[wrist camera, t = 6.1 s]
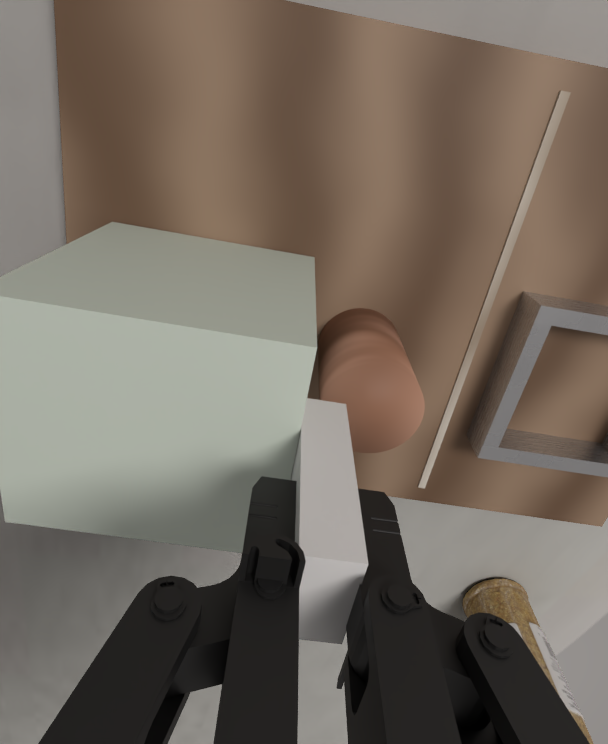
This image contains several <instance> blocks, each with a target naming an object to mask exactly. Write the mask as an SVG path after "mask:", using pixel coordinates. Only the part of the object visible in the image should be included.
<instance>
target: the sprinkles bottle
mask: <svg viewBox="0 0 608 744" xmlns="http://www.w3.org/2000/svg"><path fill="white" fill-rule="evenodd" d="M463 609H464V612H465V614H466V616H467V617H469V616H470V615H473V614H475V613H478V612H480V613H490V614H492V615H495V616H497V617H500V618H502V619H503V620H504V621H506V622H507V623H508V624H510V625H511V626H512V627H513V628H514V629H515V630H516V631H517V632H518V634H519V635H520V636H521V637H522V639H523V640H524V642H525V643H526V645H527V647H528V648H529V650H530V651H531V653H532V654H533V656H534V657H535V659H536V661H537V662H538V664H539V665H540V667H541V668H542V670H543V671H544V673H545V675H546V676H547V678H548V679H549V681H550V682H551V684H552V685H553V687H554V689H555V690H556V692H557V693H558V695H559V696H560V698H561V699H562V701H563V703H564V704H565V706H566V707H567V709H568V710H569V712H570V713H571V715H572V717H573V718H574V720H575V721H576V723H577V724H578V726H579V727H580V729H581V731H582V732H583V734H584V735H585V737H586V738H587V740H588V741H589V743H590V744H593V741H592V739H591V736H590V734H589V732H588V730H587V728H586V725H585V721H584V719H583V716H582V714H581V712H580V710H579V708H578V705H577V703H576V701H575V699H574V697H573V694H572V692H571V690H570V688H569V686H568V684H567V681H566V679H565V677H564V675H563V672H562V670H561V668H560V666H559V664H558V662H557V659H556V657H555V655H554V653H553V651H552V649H551V647H550V644H549V642H548V640H547V638H546V636H545V634H544V632H543V630H542V629H541V628H540V626H539V624H538V622H537V619H536V617H535V615H534V613H533V610H532V608H531V606H530V604H529V601H528V595H527V593H526V591H525V590H524V588H523V587H522V586H521V585H520V584H518V583H517V582H514V581H511V580H508V579H504V578H502V579H492V580H487V581H483V582H481V583H478V584H477V585H475V586H473V587H472V588H471V589H470V590H469V591H468V592H467V593H466V595H465V597H464V598H463Z"/></svg>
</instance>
